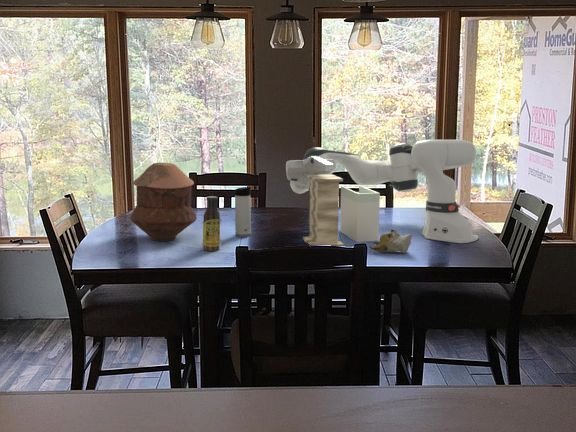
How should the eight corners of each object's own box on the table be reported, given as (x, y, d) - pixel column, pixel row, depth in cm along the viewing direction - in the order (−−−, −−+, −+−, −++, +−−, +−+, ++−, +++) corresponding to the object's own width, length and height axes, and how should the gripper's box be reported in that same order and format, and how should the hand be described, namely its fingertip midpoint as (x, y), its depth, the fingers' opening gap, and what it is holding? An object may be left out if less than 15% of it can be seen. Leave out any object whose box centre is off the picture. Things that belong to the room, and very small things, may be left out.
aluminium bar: (309, 161, 258) (309, 155, 258) (316, 161, 259) (316, 155, 259) (326, 171, 238) (326, 164, 237) (333, 170, 238) (334, 164, 238)
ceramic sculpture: (409, 232, 229) (367, 232, 234) (410, 256, 231) (368, 255, 235) (413, 227, 239) (373, 226, 244) (414, 250, 241) (374, 249, 245)
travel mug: (249, 237, 260) (249, 188, 256) (233, 236, 261) (232, 187, 257) (253, 234, 266) (253, 185, 262) (237, 233, 267) (237, 185, 263)
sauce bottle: (205, 252, 236) (204, 198, 232) (200, 248, 242) (199, 196, 238) (222, 250, 239) (222, 197, 235) (217, 247, 244) (216, 194, 240)
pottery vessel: (126, 234, 265) (123, 160, 260) (188, 229, 275) (186, 158, 269) (137, 248, 242) (133, 168, 236) (203, 242, 251) (202, 165, 245)
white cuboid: (340, 231, 272) (341, 186, 268) (360, 230, 274) (361, 185, 271) (356, 242, 253) (358, 193, 249) (378, 240, 255) (379, 193, 252)
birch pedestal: (302, 239, 256) (303, 174, 251) (331, 238, 259) (332, 173, 254) (314, 249, 241) (315, 180, 236) (345, 247, 244) (346, 179, 239)
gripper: (331, 178, 270) (341, 165, 257) (283, 180, 265) (291, 166, 252) (329, 164, 272) (339, 150, 259) (282, 165, 267) (289, 152, 254)
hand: (315, 158), depth 255 cm, fingers closed on aluminium bar, 3 cm apart
